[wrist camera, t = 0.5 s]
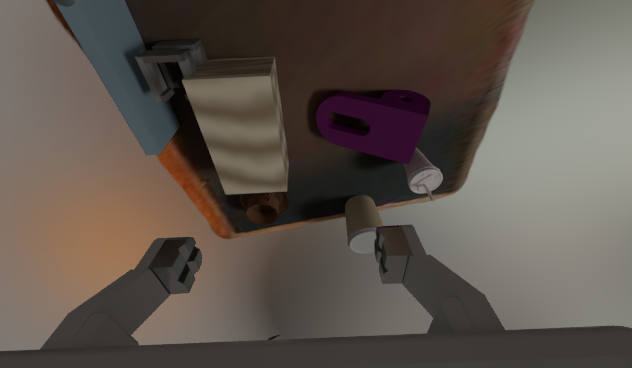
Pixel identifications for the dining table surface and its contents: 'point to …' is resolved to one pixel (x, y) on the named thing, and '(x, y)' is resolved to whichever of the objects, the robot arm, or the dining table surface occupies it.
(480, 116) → the dining table surface
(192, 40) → the cabinet
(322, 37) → the dining table surface
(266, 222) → the cup and saucer
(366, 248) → the coffee cup
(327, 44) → the dining table surface
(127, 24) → the door
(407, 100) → the mounting bracket
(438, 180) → the smoothie
